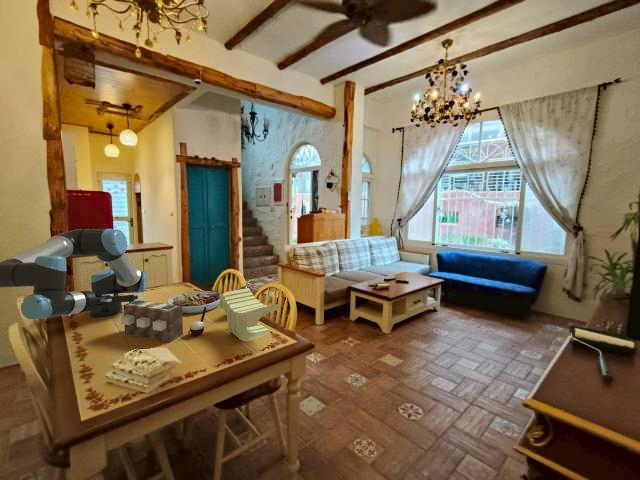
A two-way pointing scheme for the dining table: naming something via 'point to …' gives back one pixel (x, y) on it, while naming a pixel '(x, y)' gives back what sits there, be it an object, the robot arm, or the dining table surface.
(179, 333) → the button panel
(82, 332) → the dining table surface
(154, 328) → the button
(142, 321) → the middle button
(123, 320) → the button
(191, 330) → the cocoa
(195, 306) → the bowl
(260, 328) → the slatted curved stool
